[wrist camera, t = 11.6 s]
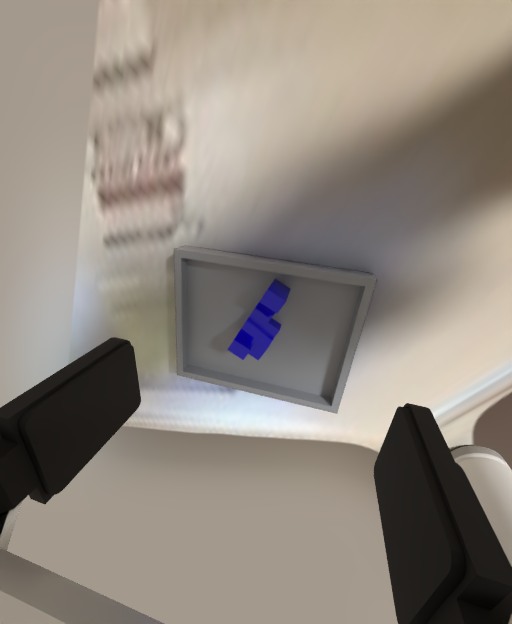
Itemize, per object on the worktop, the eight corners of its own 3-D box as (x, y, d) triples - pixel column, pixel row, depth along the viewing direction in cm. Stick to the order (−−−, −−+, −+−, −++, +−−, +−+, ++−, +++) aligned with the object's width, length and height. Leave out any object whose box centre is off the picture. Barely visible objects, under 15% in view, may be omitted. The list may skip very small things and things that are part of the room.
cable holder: (263, 349, 30) (255, 368, 27) (238, 332, 30) (227, 349, 27) (302, 296, 27) (299, 310, 23) (274, 278, 27) (267, 289, 23)
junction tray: (371, 273, 26) (377, 279, 23) (335, 399, 32) (337, 413, 30) (185, 245, 29) (173, 248, 27) (186, 364, 35) (177, 375, 33)
